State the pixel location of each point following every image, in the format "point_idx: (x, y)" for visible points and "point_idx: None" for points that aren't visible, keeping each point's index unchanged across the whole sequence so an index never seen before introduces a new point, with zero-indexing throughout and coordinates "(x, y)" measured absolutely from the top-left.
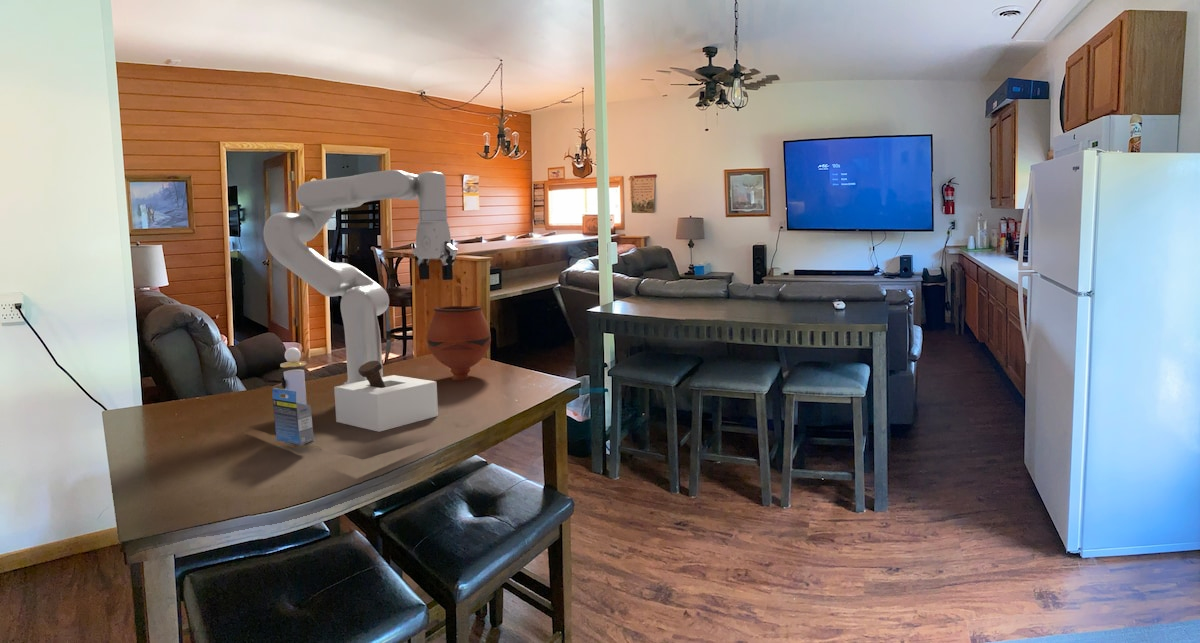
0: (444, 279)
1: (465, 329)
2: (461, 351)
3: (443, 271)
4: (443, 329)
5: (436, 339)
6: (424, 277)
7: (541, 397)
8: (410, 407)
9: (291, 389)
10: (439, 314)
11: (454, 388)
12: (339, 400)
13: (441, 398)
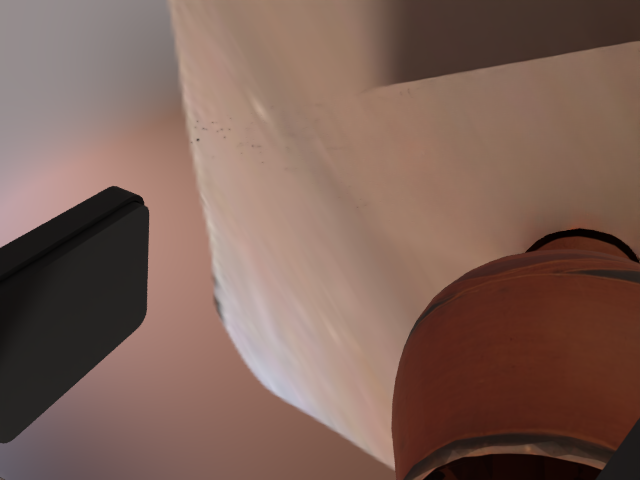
0: (116, 193)
1: (443, 349)
2: (484, 265)
3: (24, 236)
4: (583, 332)
5: (638, 292)
6: (617, 473)
7: (215, 166)
8: None
9: None
10: None
11: None
12: None
13: (551, 64)
